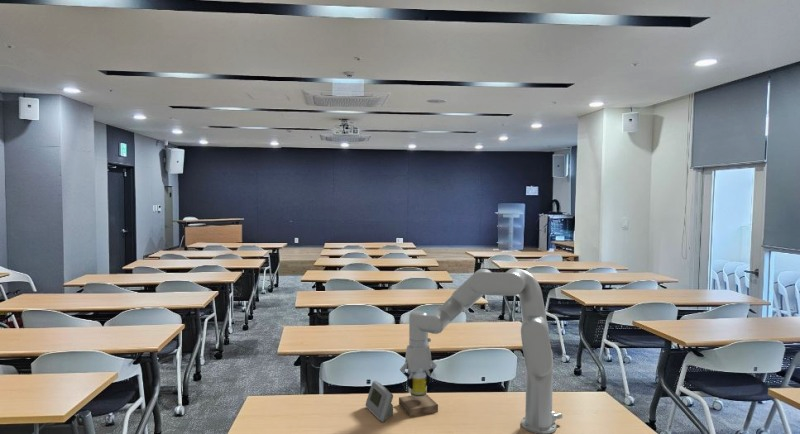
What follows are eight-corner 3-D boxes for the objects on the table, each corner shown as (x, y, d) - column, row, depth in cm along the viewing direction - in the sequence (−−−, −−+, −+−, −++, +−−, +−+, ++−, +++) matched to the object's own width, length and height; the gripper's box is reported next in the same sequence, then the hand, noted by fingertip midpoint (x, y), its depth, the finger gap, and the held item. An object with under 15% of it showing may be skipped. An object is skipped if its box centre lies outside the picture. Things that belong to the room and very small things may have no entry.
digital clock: (364, 406, 189) (364, 380, 188) (386, 403, 191) (386, 378, 191) (373, 424, 173) (373, 396, 173) (396, 421, 176) (396, 394, 175)
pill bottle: (425, 398, 183) (425, 369, 183) (409, 397, 184) (409, 368, 184) (427, 392, 189) (427, 364, 189) (411, 391, 191) (411, 363, 190)
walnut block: (425, 400, 195) (425, 393, 195) (437, 412, 184) (438, 404, 183) (398, 404, 190) (399, 397, 190) (410, 417, 179) (410, 409, 179)
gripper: (433, 337, 193) (433, 380, 193) (395, 342, 186) (395, 386, 187) (441, 342, 186) (441, 386, 186) (402, 347, 179) (402, 393, 180)
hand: (418, 385), depth 187 cm, fingers closed on pill bottle, 6 cm apart
